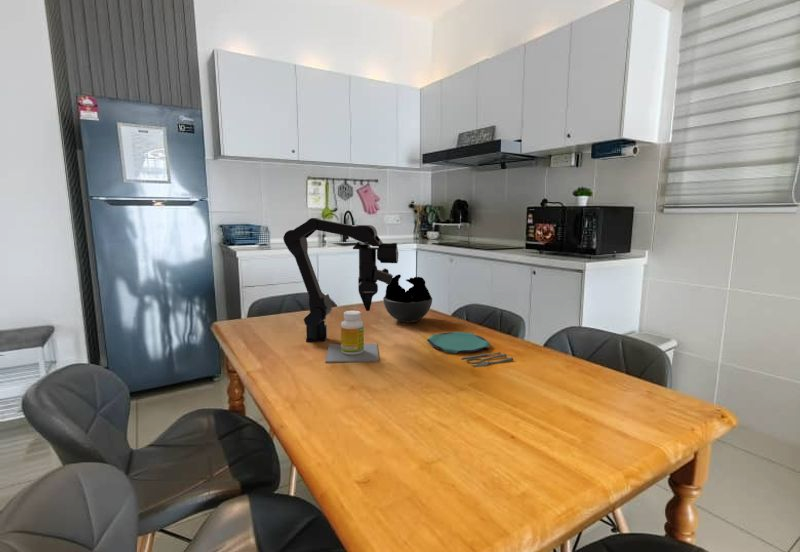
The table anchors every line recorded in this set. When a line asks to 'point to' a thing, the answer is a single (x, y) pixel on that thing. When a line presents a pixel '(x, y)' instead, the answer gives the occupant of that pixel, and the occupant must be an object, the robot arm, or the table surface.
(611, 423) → the table surface
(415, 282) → the coal bowl
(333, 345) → the grey mat
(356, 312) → the supplement bottle
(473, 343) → the cutlery set
